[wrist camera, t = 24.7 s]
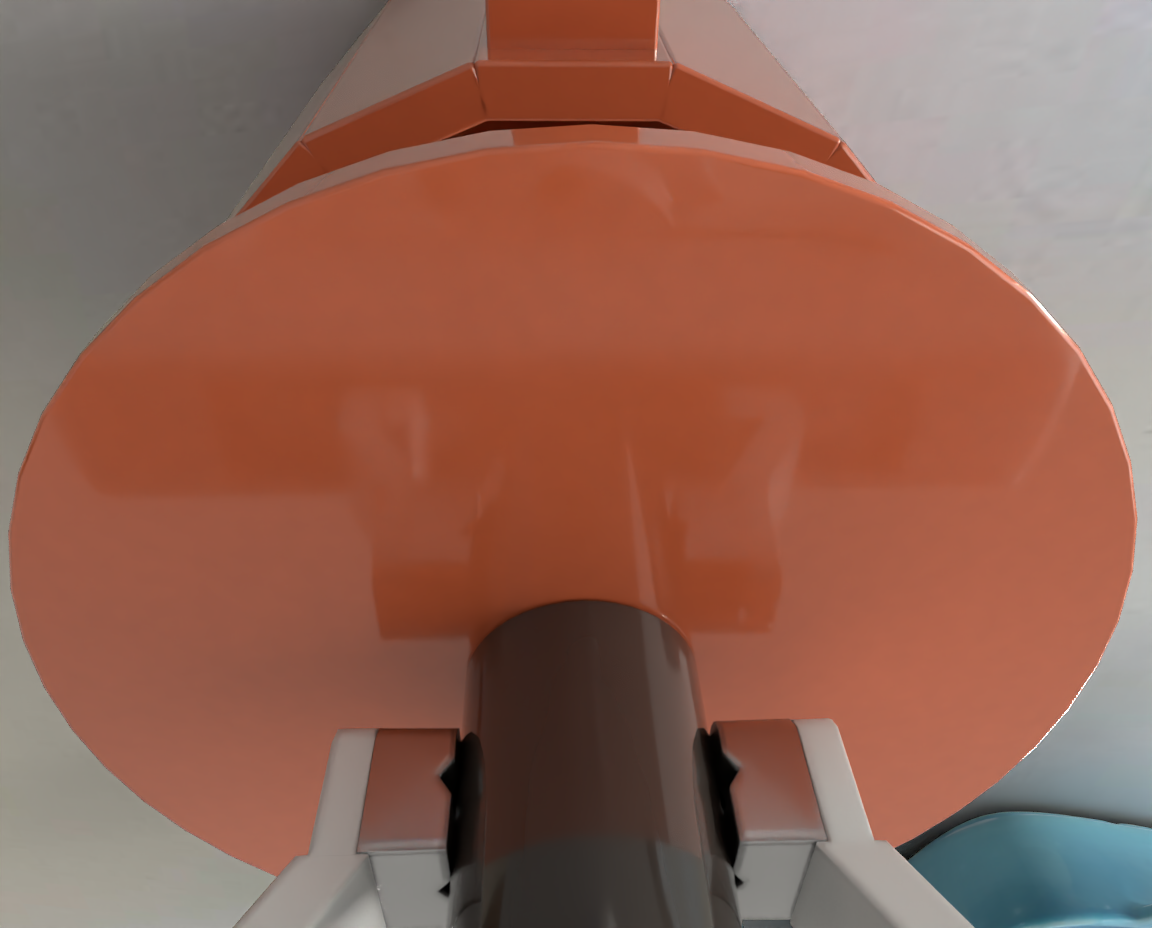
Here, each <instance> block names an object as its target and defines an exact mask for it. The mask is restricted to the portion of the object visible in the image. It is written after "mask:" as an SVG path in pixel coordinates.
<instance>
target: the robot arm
mask: <svg viewBox="0 0 1152 928" xmlns="http://www.w3.org/2000/svg"><path fill="white" fill-rule="evenodd" d="M709 737H710V743H711V748H712V754H713V760H714V765H715V771H716V776H717V782H718V787H719V793H720V799H721V804H722V810H723V815H724V821H725V826H726V832H727V838H728V843H729V849H730V854H731V860H732V865H733V871H734V877H735V882H736V888H737V893H738V899H739V904H740V910H741V916H742V920H791V921H790V924H791V926H792V927H793V928H975V927H974V926H972V925H971V924H970V923H969V922H968V921H967V920H966V919H965V918H964V917H963V916H962V915H961V914H960V913H959V912H958V911H957V910H956V909H955V908H954V907H953V906H952V905H951V904H950V903H949V902H948V901H947V900H946V899H945V898H944V897H943V896H942V895H941V894H940V893H939V892H938V891H937V890H936V889H935V888H934V887H933V886H932V885H931V884H930V883H929V882H928V881H927V880H926V879H925V878H924V877H923V876H922V875H921V874H920V873H919V872H918V871H917V870H916V869H915V868H914V867H913V866H912V865H911V864H910V863H909V862H908V861H907V860H906V859H905V858H904V857H903V856H902V855H901V854H900V853H899V852H898V851H896V850H895V849H894V848H893V847H892V846H891V845H890V844H889V843H888V842H887V841H886V840H874V838H873V835H872V831H871V828H870V825H869V822H868V819H867V816H866V813H865V810H864V807H863V804H862V800H861V797H860V794H859V791H858V788H857V785H856V782H855V779H854V776H853V773H852V769H851V766H850V763H849V760H848V757H847V754H846V751H845V748H844V745H843V742H842V738H841V735H840V732H839V729H838V726H837V725H836V724H835V723H834V721H833V720H832V719H829V718H819V719H796V720H790V719H789V718H785V719H759V720H732V721H714V722H713V724H712V725H711V729H710V734H709ZM460 752H461V736H460V729H459V728H357V729H338V730H337V733H336V735H335V737H334V739H333V741H332V744H331V749H330V753H329V758H328V763H327V767H326V772H325V777H324V781H323V786H322V791H321V795H320V800H319V805H318V809H317V814H316V819H315V823H314V828H313V833H312V837H311V842H310V847H309V851H308V855H301V856H295V857H294V858H293V859H292V860H291V862H290V863H289V864H288V865H287V866H286V867H285V868H284V870H283V871H282V872H281V873H280V874H279V875H278V876H277V878H276V879H275V880H274V881H273V882H272V883H271V884H270V886H269V887H268V888H267V889H266V890H265V891H264V892H263V894H262V895H261V896H260V897H259V898H258V899H257V900H256V902H255V903H254V904H253V905H252V906H251V907H250V908H249V910H248V911H247V912H246V913H245V914H244V915H243V916H242V918H241V919H240V920H239V921H238V922H237V923H236V924H235V926H234V927H233V928H446V917H447V904H448V892H449V881H450V878H451V866H452V854H453V842H454V829H455V818H454V816H455V804H456V794H457V789H458V779H459V765H460Z"/></svg>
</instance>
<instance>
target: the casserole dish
mask: <svg viewBox="0 0 1152 928" xmlns="http://www.w3.org/2000/svg"><path fill="white" fill-rule="evenodd" d="M908 862H909V863H910V864H911V865H912V866H913V867H914V868H915V869H916V870H917V871H918V872H919V873H920V874H921V875H922V876H923V877H924V878H925V879H926V880H927V881H928V882H929V883H930V884H931V885H932V886H933V887H934V888H935V889H936V890H937V891H938V892H939V893H940V894H941V895H942V896H943V897H944V898H945V899H946V900H947V901H948V902H949V903H950V904H951V905H952V906H953V907H954V908H955V909H956V910H957V911H958V912H959V913H960V914H961V915H962V916H963V917H964V918H965V919H966V920H967V921H968V922H969V923H970V924H971V925H972V926H974V927H975V928H1152V828H1147V827H1142V826H1137V825H1131V824H1122V823H1120V824H1113V823H1110V822H1106V821H1102V820H1096V819H1089V818H1082V817H1075V816H1068V815H1061V814H1052V813H1042V812H1000V813H994V814H988V815H983V816H980V817H977V818H974V819H971V820H969V821H967V822H965V823H963V824H961V825H959V826H957V827H955V828H953V829H951V830H949V831H947V832H946V833H944V834H943V835H941V836H940V837H938V838H937V839H935V840H934V841H932V842H931V843H929V844H928V845H927V846H925V847H924V848H923V849H921V850H920V851H919V852H917V853H916V854H915V855H914V856H913V857H911V858H910V859H909V860H908Z"/></svg>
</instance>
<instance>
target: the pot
mask: <svg viewBox="0 0 1152 928" xmlns="http://www.w3.org/2000/svg"><path fill="white" fill-rule="evenodd" d="M588 124H596V125H611V126H625V127H639V128H654V129H668V130H682V131H695V132H700V133H704V134H709V135H714V136H719V137H723V138H728V139H733V140H738V141H742V142H747V143H752V144H757V145H761V146H766V147H771V148H776V149H781V150H785V151H790V152H793V153H795V154H798V155H801V156H804V157H806V158H809V159H812V160H815V161H817V162H820V163H823V164H826V165H828V166H831V167H834V168H836V169H839V170H842V171H845V172H847V173H850V174H853V175H856V176H858V177H861V178H864V179H866V180H869V181H872V182H875V183H876V181H875V180H874V179H873V177H872V176H871V175H870V174H869V172H868V171H867V170H866V168H865V167H864V166H863V165H862V163H861V162H860V161H859V160H858V158H857V157H856V156H855V154H854V153H853V152H852V151H851V149H850V148H849V147H848V145H847V144H846V143H845V142H844V140H843V139H842V138H841V137H840V136H839V134H838V133H837V132H836V131H835V130H834V128H833V127H832V126H831V125H830V124H829V122H828V121H827V120H826V119H825V118H824V116H823V115H822V114H821V113H820V112H819V110H818V109H817V108H816V107H815V106H814V104H813V103H812V102H811V101H810V100H809V98H808V97H807V96H806V95H805V94H804V92H803V91H802V90H801V89H800V88H799V86H798V85H797V84H796V83H795V82H794V80H793V79H792V78H791V77H790V76H789V74H788V73H787V72H786V71H785V70H784V68H783V67H782V66H781V65H780V64H779V62H778V61H777V60H776V59H775V58H774V56H773V55H772V54H771V53H770V52H769V50H768V49H767V48H766V47H765V46H764V44H763V43H762V42H761V41H760V40H759V38H758V37H757V36H756V35H755V33H754V32H753V31H752V30H751V29H750V27H749V26H748V25H747V24H746V23H745V21H744V20H743V19H742V18H741V17H740V15H739V14H738V13H737V12H736V11H735V9H734V8H733V7H732V6H731V5H730V3H728V2H726V0H389V1H388V2H387V3H386V4H385V6H384V7H383V8H382V9H381V11H380V12H379V13H378V14H377V16H376V17H375V18H374V19H373V20H372V22H371V23H370V24H369V25H368V27H367V28H366V29H365V30H364V32H363V33H362V34H361V35H360V36H359V37H358V38H357V40H356V41H355V43H354V44H353V45H352V47H351V48H350V49H349V50H348V51H347V53H346V54H345V55H344V56H343V58H342V59H341V60H340V61H339V63H338V64H337V65H336V66H335V68H334V69H333V70H332V71H331V73H330V74H329V75H328V76H327V78H326V79H325V80H324V81H323V82H322V84H321V85H320V87H319V88H318V89H317V91H316V92H315V94H314V95H313V97H312V98H311V99H310V101H309V102H308V104H307V105H306V107H305V108H304V109H303V111H302V112H301V114H300V115H299V117H298V118H297V119H296V121H295V122H294V124H293V125H292V127H291V128H290V130H289V131H288V132H287V134H286V135H285V137H284V138H283V140H282V141H281V142H280V144H279V145H278V147H277V148H276V150H275V151H274V152H273V154H272V155H271V157H270V158H269V160H268V161H267V162H266V164H265V165H264V167H263V168H262V170H261V171H260V173H259V174H258V175H257V177H256V178H255V180H254V181H253V183H252V184H251V185H250V187H249V188H248V190H247V191H246V193H245V194H244V195H243V197H242V198H241V200H240V201H239V203H238V204H237V205H236V207H235V208H234V210H233V211H232V213H231V214H230V215H229V217H228V218H227V220H226V221H228V220H230V219H232V218H233V217H235V216H237V215H239V214H241V213H243V212H245V211H247V210H249V209H251V208H252V207H254V206H256V205H258V204H260V203H262V202H264V201H266V200H268V199H270V198H271V197H273V196H275V195H277V194H279V193H281V192H283V191H285V190H287V189H289V188H290V187H292V186H294V185H296V184H298V183H301V182H303V181H306V180H309V179H312V178H315V177H318V176H321V175H323V174H326V173H329V172H332V171H335V170H338V169H340V168H343V167H346V166H349V165H352V164H355V163H357V162H360V161H363V160H366V159H369V158H372V157H375V156H377V155H380V154H383V153H386V152H389V151H393V150H398V149H402V148H407V147H412V146H417V145H422V144H427V143H432V142H437V141H442V140H447V139H452V138H457V137H462V136H467V135H472V134H477V133H482V132H487V131H496V130H511V129H526V128H542V127H557V126H573V125H588ZM226 221H225V222H226Z"/></svg>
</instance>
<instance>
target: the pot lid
mask: <svg viewBox="0 0 1152 928" xmlns="http://www.w3.org/2000/svg"><path fill="white" fill-rule="evenodd" d="M1136 528H1137V511H1136V502H1135V493H1134V485H1133V476H1132V467H1131V460H1130V457H1129V454H1128V450H1127V447H1126V444H1125V441H1124V438H1123V435H1122V432H1121V429H1120V426H1119V423H1118V420H1117V417H1116V414H1115V411H1114V408H1113V405H1112V403H1111V401H1110V399H1109V398H1108V396H1107V394H1106V392H1105V391H1104V389H1103V387H1102V385H1101V384H1100V382H1099V380H1098V379H1097V377H1096V375H1095V373H1094V372H1093V370H1092V368H1091V366H1090V365H1089V363H1088V361H1087V359H1086V358H1085V356H1084V354H1083V353H1082V351H1081V349H1080V347H1079V346H1078V345H1077V344H1076V343H1075V342H1074V341H1073V339H1072V338H1071V337H1070V336H1069V335H1068V334H1067V333H1066V331H1065V330H1064V329H1063V328H1062V327H1061V326H1060V325H1059V323H1058V322H1057V321H1056V320H1055V319H1054V318H1053V317H1052V315H1051V314H1050V313H1049V312H1048V311H1047V310H1046V309H1045V308H1044V306H1043V305H1042V304H1041V303H1040V302H1039V301H1038V300H1037V298H1036V297H1035V296H1034V295H1033V294H1032V293H1031V292H1030V291H1029V290H1028V289H1027V288H1026V286H1025V285H1024V284H1023V283H1022V282H1021V281H1020V280H1019V279H1018V278H1017V277H1016V276H1015V275H1014V274H1013V273H1012V272H1011V271H1009V270H1008V269H1007V268H1006V267H1004V266H1003V265H1002V264H1001V263H999V262H998V261H997V260H996V259H994V258H993V257H992V256H991V255H989V254H988V253H987V252H985V251H984V250H983V249H982V248H980V247H979V246H978V245H977V244H975V243H974V242H973V241H972V240H970V239H969V238H968V237H967V236H965V235H964V234H963V233H962V232H960V231H959V230H958V229H956V228H955V227H954V226H953V225H951V224H950V223H948V222H946V221H944V220H942V219H941V218H939V217H937V216H935V215H933V214H932V213H930V212H928V211H926V210H924V209H922V208H921V207H919V206H917V205H915V204H913V203H912V202H910V201H908V200H906V199H904V198H903V197H901V196H899V195H897V194H895V193H893V192H892V191H890V190H888V189H886V188H884V187H883V186H881V185H879V184H877V183H875V182H872V181H869V180H866V179H864V178H861V177H858V176H856V175H853V174H850V173H847V172H845V171H842V170H839V169H836V168H834V167H831V166H828V165H826V164H823V163H820V162H817V161H815V160H812V159H809V158H806V157H804V156H801V155H798V154H795V153H793V152H790V151H785V150H781V149H776V148H771V147H766V146H761V145H757V144H752V143H747V142H742V141H738V140H733V139H728V138H723V137H719V136H714V135H709V134H704V133H700V132H695V131H682V130H668V129H654V128H639V127H625V126H611V125H596V124H588V125H573V126H557V127H542V128H526V129H511V130H496V131H487V132H482V133H477V134H472V135H467V136H462V137H457V138H452V139H447V140H442V141H437V142H432V143H427V144H422V145H417V146H412V147H407V148H402V149H398V150H393V151H389V152H386V153H383V154H380V155H377V156H375V157H372V158H369V159H366V160H363V161H360V162H357V163H355V164H352V165H349V166H346V167H343V168H340V169H338V170H335V171H332V172H329V173H326V174H323V175H321V176H318V177H315V178H312V179H309V180H306V181H303V182H301V183H298V184H296V185H294V186H292V187H290V188H289V189H287V190H285V191H283V192H281V193H279V194H277V195H275V196H273V197H271V198H270V199H268V200H266V201H264V202H262V203H260V204H258V205H256V206H254V207H252V208H251V209H249V210H247V211H245V212H243V213H241V214H239V215H237V216H235V217H233V218H232V219H230V220H228V221H226V222H224V223H222V224H220V225H218V226H217V227H215V228H214V229H213V230H211V231H210V232H209V233H207V234H206V235H205V236H203V237H202V238H201V239H199V240H198V241H197V242H195V243H194V244H193V245H191V246H190V247H189V248H187V249H186V250H185V251H183V252H182V253H181V254H179V255H178V256H177V257H175V258H174V259H173V260H171V261H170V262H169V263H167V264H166V265H165V266H163V267H162V268H161V269H159V270H158V271H157V272H155V273H154V274H152V275H151V276H150V277H149V278H148V279H147V280H146V281H145V282H144V283H143V284H142V286H141V287H140V288H139V289H138V290H137V291H136V292H135V293H134V294H133V295H132V296H131V297H130V298H129V299H128V300H127V301H126V302H125V303H124V304H123V306H122V307H121V308H120V309H119V310H118V311H117V312H116V313H115V314H114V315H113V316H112V317H111V318H110V319H109V320H108V321H107V322H106V323H105V324H104V325H103V327H102V328H101V329H100V330H99V331H98V332H97V333H96V334H95V336H94V337H93V338H92V339H91V341H90V342H89V343H88V345H87V346H86V347H85V348H84V350H83V351H82V352H81V353H80V355H79V356H78V358H77V359H76V361H75V362H74V364H73V366H72V367H71V369H70V370H69V372H68V373H67V375H66V376H65V378H64V379H63V381H62V383H61V384H60V386H59V387H58V389H57V390H56V392H55V393H54V395H53V396H52V398H51V400H50V401H49V403H48V404H47V406H46V407H45V409H44V410H43V412H42V414H41V416H40V419H39V421H38V424H37V426H36V429H35V431H34V434H33V436H32V439H31V442H30V444H29V447H28V449H27V452H26V454H25V457H24V459H23V462H22V464H21V467H20V469H19V472H18V477H17V483H16V489H15V495H14V501H13V507H12V513H11V519H10V525H9V530H8V537H9V562H10V586H11V593H12V597H13V601H14V605H15V609H16V613H17V617H18V621H19V626H20V630H21V634H22V638H23V641H24V643H25V646H26V648H27V650H28V652H29V655H30V657H31V659H32V661H33V664H34V666H35V668H36V670H37V673H38V675H39V677H40V679H41V682H42V684H43V686H44V688H45V690H46V691H47V693H48V694H49V696H50V697H51V699H52V700H53V702H54V703H55V705H56V706H57V708H58V709H59V711H60V712H61V714H62V715H63V717H64V718H65V720H66V721H67V723H68V725H69V726H70V728H71V729H72V730H73V732H74V733H75V734H76V735H77V736H78V737H79V738H80V740H81V741H82V742H83V743H84V744H85V745H86V746H87V747H88V749H89V750H90V751H91V752H92V753H93V754H94V755H95V756H96V758H97V759H98V760H99V761H100V762H101V763H102V764H103V765H104V767H105V768H106V769H107V770H109V771H110V772H111V773H112V774H113V775H114V776H115V777H116V778H118V779H119V780H120V781H121V782H122V783H123V784H124V785H126V786H127V787H128V788H129V789H130V790H131V791H132V792H134V793H135V794H136V795H137V796H138V797H139V798H140V799H142V800H143V801H144V802H145V803H147V804H148V805H149V806H151V807H152V808H154V809H155V810H157V811H158V812H159V813H161V814H162V815H164V816H165V817H167V818H168V819H170V820H171V821H172V822H174V823H175V824H177V825H178V826H180V827H181V828H182V829H184V830H185V831H187V832H189V833H190V834H192V835H194V836H196V837H198V838H199V839H201V840H203V841H205V842H207V843H208V844H210V845H212V846H214V847H215V848H217V849H219V850H221V851H223V852H224V853H226V854H228V855H230V856H232V857H234V858H236V859H238V860H241V861H243V862H245V863H247V864H250V865H252V866H254V867H256V868H259V869H261V870H263V871H265V872H267V873H270V874H272V875H274V876H276V877H277V876H278V875H279V874H280V873H281V872H282V871H283V870H284V868H285V867H286V866H287V865H288V864H289V863H290V862H291V860H292V859H293V858H294V857H295V856H301V855H308V851H309V847H310V842H311V837H312V833H313V828H314V823H315V819H316V814H317V809H318V805H319V800H320V795H321V791H322V786H323V781H324V777H325V772H326V767H327V763H328V758H329V753H330V749H331V744H332V741H333V739H334V737H335V735H336V733H337V730H338V729H357V728H459V729H460V736H461V752H460V765H459V779H458V789H457V794H456V804H455V816H454V818H455V829H454V842H453V854H452V866H451V878H450V881H449V892H448V904H447V917H446V928H744V927H743V921H742V916H741V910H740V904H739V899H738V893H737V888H736V882H735V877H734V871H733V865H732V860H731V854H730V849H729V843H728V838H727V832H726V826H725V821H724V815H723V810H722V804H721V799H720V793H719V787H718V782H717V776H716V771H715V765H714V760H713V754H712V748H711V743H710V737H709V734H710V729H711V725H712V724H713V722H714V721H732V720H759V719H785V718H789V719H790V720H796V719H819V718H829V719H832V720H833V721H834V723H835V724H836V725H837V726H838V729H839V732H840V735H841V738H842V742H843V745H844V748H845V751H846V754H847V757H848V760H849V763H850V766H851V769H852V773H853V776H854V779H855V782H856V785H857V788H858V791H859V794H860V797H861V800H862V804H863V807H864V810H865V813H866V816H867V819H868V822H869V825H870V828H871V831H872V835H873V838H874V840H886V841H887V842H888V843H889V844H890V845H891V846H892V847H893V848H896V847H898V846H900V845H902V844H904V843H906V842H908V841H910V840H912V839H914V838H916V837H917V836H919V835H921V834H922V833H924V832H925V831H927V830H929V829H930V828H932V827H934V826H935V825H937V824H939V823H940V822H942V821H943V820H945V819H947V818H948V817H950V816H952V815H953V814H955V813H957V812H958V811H960V810H961V809H962V808H964V807H965V806H966V805H968V804H969V803H970V802H972V801H973V800H974V799H976V798H977V797H978V796H980V795H981V794H982V793H984V792H985V791H986V790H988V789H989V788H990V787H992V786H993V785H994V784H996V783H997V782H999V781H1000V780H1001V779H1002V778H1003V777H1004V776H1005V775H1006V774H1007V773H1008V772H1009V771H1011V770H1012V769H1013V768H1014V767H1015V766H1016V765H1017V764H1018V763H1019V762H1020V761H1022V760H1023V759H1024V758H1025V757H1026V756H1027V755H1028V754H1029V753H1030V752H1031V751H1032V750H1034V749H1035V748H1036V747H1037V746H1038V744H1039V743H1040V742H1041V741H1042V740H1043V739H1044V737H1045V736H1046V735H1047V734H1048V733H1049V732H1050V731H1051V729H1052V728H1053V727H1054V726H1055V725H1056V724H1057V723H1058V721H1059V720H1060V719H1061V718H1062V717H1063V716H1064V714H1065V713H1066V712H1067V711H1068V710H1069V709H1070V707H1071V706H1072V704H1073V703H1074V701H1075V700H1076V698H1077V697H1078V695H1079V694H1080V692H1081V691H1082V689H1083V688H1084V686H1085V685H1086V683H1087V682H1088V680H1089V679H1090V677H1091V676H1092V674H1093V672H1094V671H1095V669H1096V668H1097V666H1098V664H1099V662H1100V660H1101V658H1102V656H1103V653H1104V651H1105V649H1106V647H1107V645H1108V643H1109V641H1110V639H1111V636H1112V634H1113V632H1114V630H1115V628H1116V626H1117V624H1118V622H1119V618H1120V615H1121V611H1122V608H1123V604H1124V601H1125V597H1126V593H1127V590H1128V586H1129V583H1130V579H1131V576H1132V572H1133V562H1134V550H1135V539H1136Z"/></svg>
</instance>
